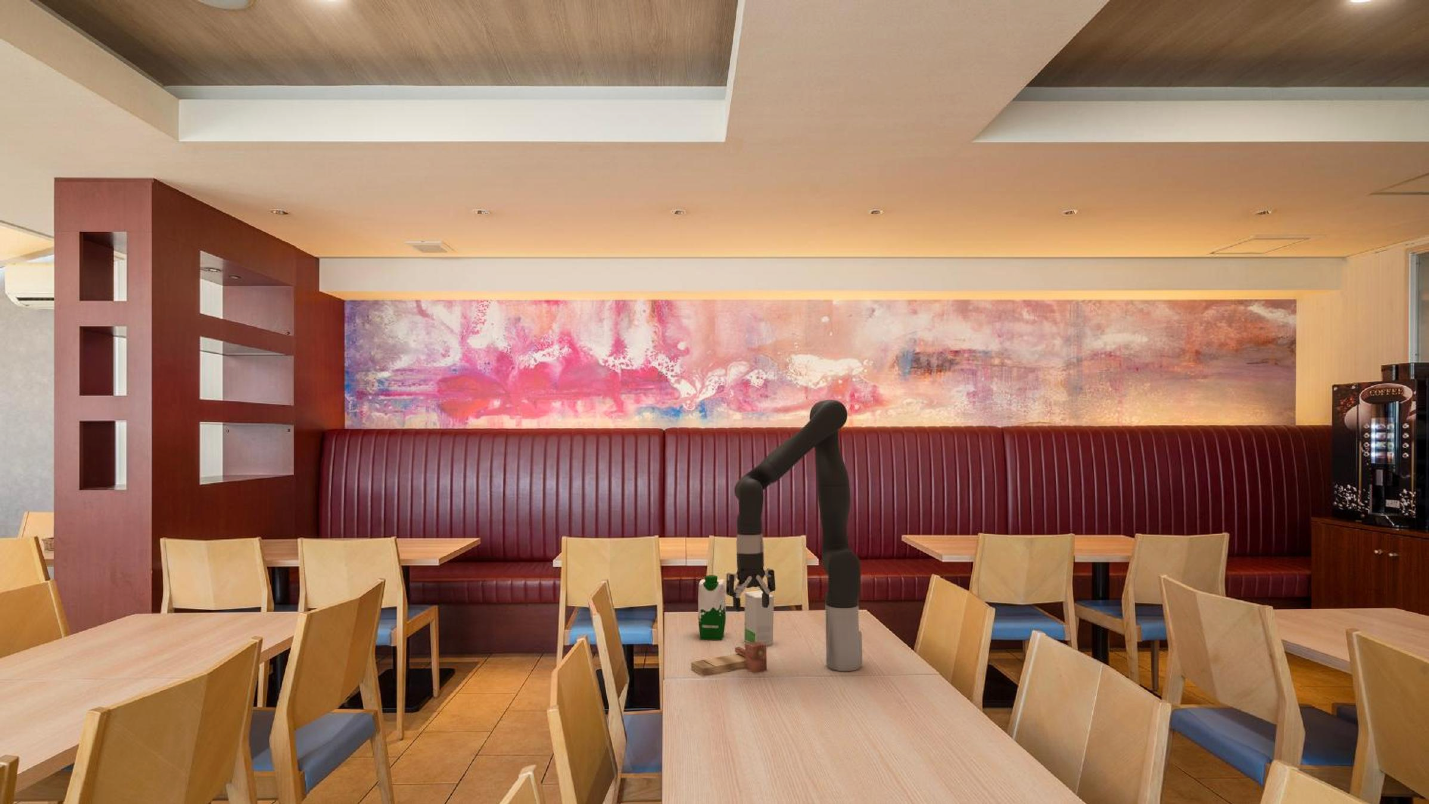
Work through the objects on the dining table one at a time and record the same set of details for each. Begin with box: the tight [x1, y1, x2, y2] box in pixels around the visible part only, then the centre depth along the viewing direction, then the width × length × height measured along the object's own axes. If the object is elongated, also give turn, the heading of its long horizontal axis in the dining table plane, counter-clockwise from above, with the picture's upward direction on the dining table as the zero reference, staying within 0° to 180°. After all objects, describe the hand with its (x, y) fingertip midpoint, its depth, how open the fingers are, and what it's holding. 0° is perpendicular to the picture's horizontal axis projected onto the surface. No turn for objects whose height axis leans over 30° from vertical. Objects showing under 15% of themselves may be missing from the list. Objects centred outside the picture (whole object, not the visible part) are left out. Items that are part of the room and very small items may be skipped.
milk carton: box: [697, 574, 727, 641], centre depth 240 cm, size 9×9×20 cm
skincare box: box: [743, 590, 775, 647], centre depth 232 cm, size 8×7×16 cm
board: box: [690, 653, 745, 677], centre depth 208 cm, size 19×7×2 cm, turn 120°
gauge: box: [734, 641, 768, 673], centre depth 209 cm, size 4×13×7 cm, turn 30°
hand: (751, 609), depth 204 cm, fingers open, 8 cm apart
